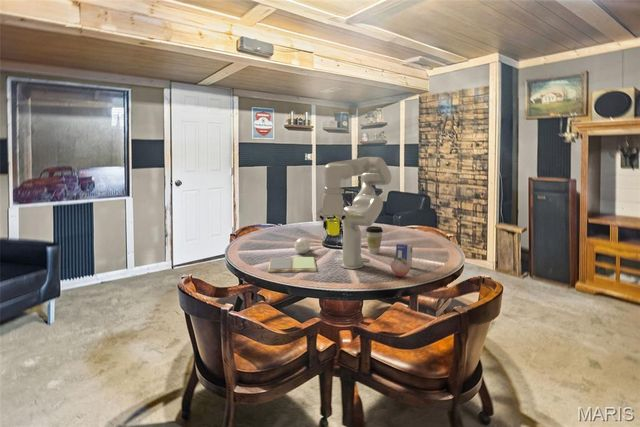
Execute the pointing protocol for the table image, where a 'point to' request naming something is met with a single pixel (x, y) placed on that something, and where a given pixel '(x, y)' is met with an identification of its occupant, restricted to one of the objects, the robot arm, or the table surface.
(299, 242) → the white ovoid
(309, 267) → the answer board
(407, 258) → the blue and white carton
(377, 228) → the coffee cup
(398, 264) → the decorative fruit
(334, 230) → the yellow toy chassis
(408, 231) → the table surface
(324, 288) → the table surface
